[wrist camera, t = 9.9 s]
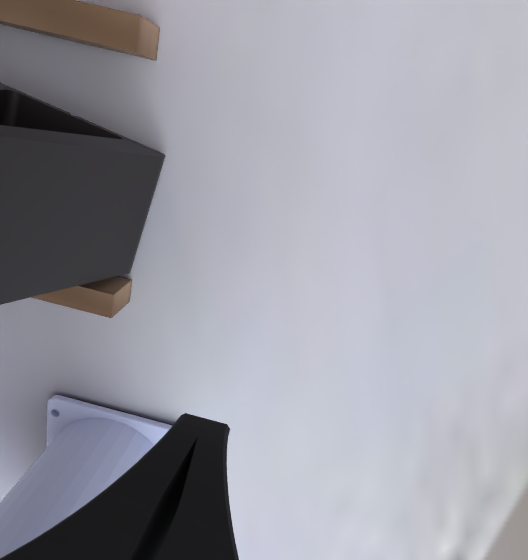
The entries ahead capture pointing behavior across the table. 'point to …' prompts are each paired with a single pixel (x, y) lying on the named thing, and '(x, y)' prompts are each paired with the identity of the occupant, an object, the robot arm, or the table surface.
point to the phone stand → (67, 198)
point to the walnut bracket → (105, 34)
